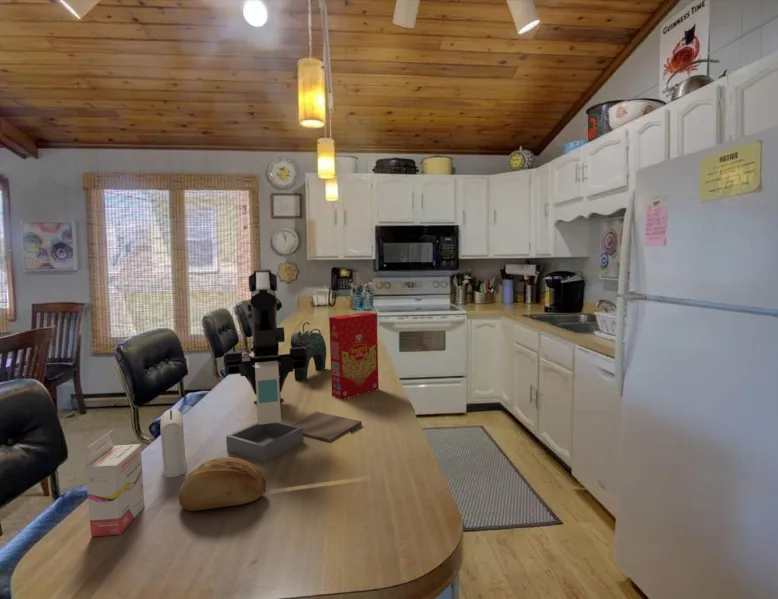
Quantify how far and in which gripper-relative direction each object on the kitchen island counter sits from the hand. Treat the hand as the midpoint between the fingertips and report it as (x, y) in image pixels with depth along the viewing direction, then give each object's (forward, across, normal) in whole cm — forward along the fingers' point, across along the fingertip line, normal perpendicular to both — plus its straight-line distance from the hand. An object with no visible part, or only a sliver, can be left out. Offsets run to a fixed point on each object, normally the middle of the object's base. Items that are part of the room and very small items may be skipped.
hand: (268, 392), depth 101 cm
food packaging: (-15, +27, +35) cm, 46 cm away
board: (+4, +13, +15) cm, 20 cm away
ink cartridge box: (+24, -25, -5) cm, 35 cm away
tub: (+9, -1, +10) cm, 14 cm away
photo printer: (+12, -20, +8) cm, 24 cm away
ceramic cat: (-34, +15, +54) cm, 66 cm away
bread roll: (+24, -9, -5) cm, 26 cm away
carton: (+4, 0, +6) cm, 7 cm away
